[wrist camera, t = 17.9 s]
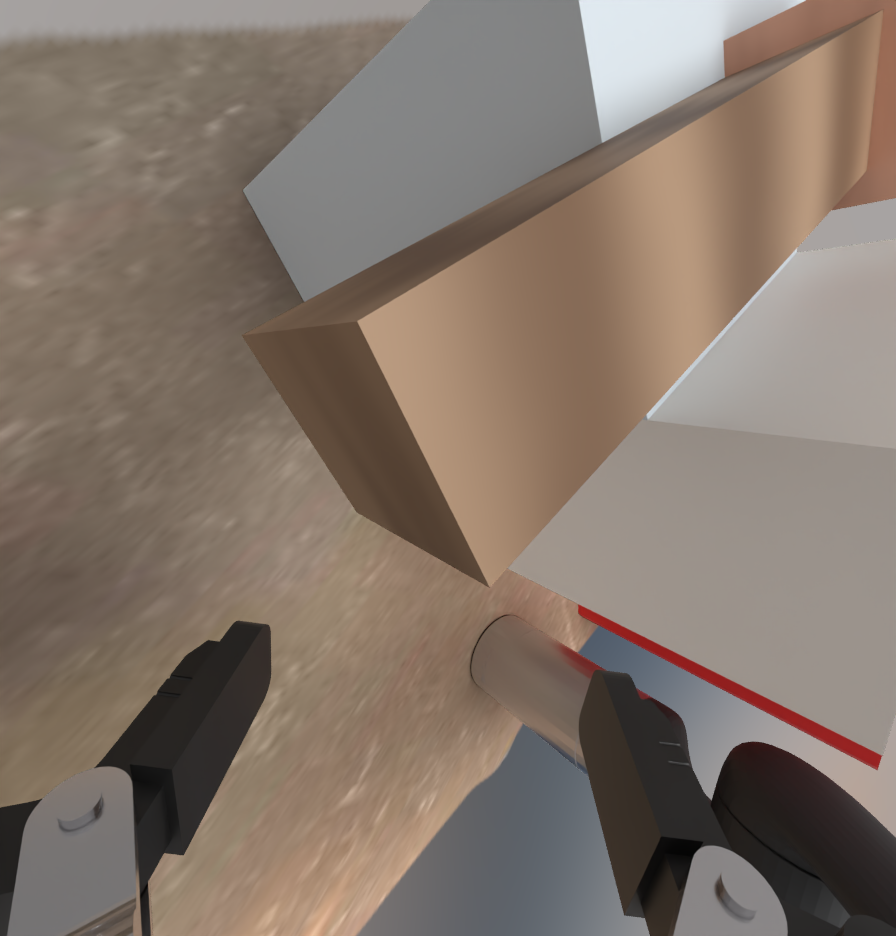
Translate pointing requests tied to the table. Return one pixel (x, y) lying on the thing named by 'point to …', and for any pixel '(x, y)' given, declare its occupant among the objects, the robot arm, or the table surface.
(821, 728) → the book
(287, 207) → the riser
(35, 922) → the robot arm
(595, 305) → the handled cube
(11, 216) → the table surface
